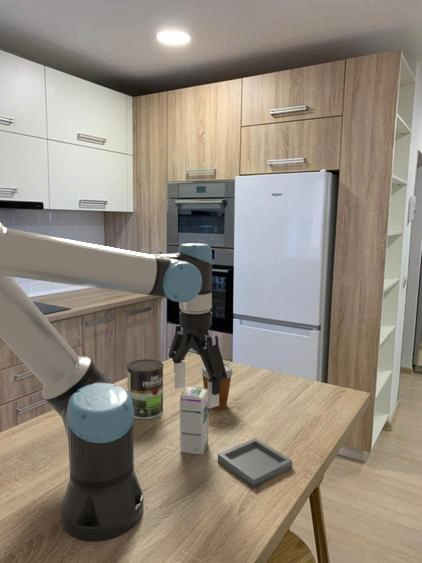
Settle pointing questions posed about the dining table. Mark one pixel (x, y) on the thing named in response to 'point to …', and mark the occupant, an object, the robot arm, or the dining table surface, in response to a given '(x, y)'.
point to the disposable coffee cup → (223, 386)
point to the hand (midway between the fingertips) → (195, 396)
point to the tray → (254, 462)
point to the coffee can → (146, 388)
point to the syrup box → (194, 420)
